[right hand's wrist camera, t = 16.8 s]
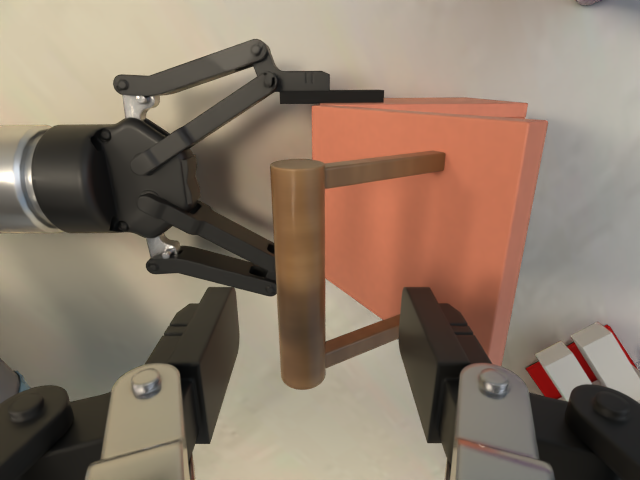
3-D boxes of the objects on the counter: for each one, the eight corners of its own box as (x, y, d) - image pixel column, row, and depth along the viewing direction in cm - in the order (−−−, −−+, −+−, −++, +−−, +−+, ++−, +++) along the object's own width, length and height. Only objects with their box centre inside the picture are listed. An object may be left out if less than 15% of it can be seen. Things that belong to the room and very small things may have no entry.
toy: (684, 343, 30) (832, 603, 35) (586, 280, 43) (704, 477, 48) (535, 415, 33) (691, 648, 38) (484, 336, 46) (606, 516, 51)
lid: (549, 120, 12) (336, 138, 9) (498, 382, 16) (333, 476, 12) (326, 104, 23) (185, 110, 19) (327, 266, 27) (208, 298, 23)
